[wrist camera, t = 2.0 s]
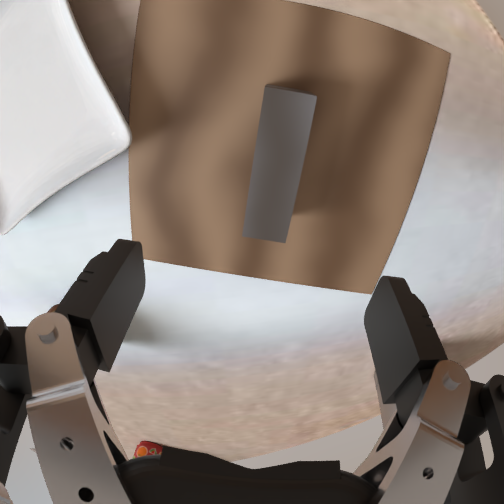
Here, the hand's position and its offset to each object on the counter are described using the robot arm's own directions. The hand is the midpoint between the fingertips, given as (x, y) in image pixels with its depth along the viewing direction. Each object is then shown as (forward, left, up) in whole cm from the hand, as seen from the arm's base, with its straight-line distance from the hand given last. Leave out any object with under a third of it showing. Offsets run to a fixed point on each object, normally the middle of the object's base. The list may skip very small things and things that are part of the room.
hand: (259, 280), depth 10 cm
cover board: (0, 0, -15) cm, 15 cm away
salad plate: (+24, -4, -15) cm, 28 cm away
